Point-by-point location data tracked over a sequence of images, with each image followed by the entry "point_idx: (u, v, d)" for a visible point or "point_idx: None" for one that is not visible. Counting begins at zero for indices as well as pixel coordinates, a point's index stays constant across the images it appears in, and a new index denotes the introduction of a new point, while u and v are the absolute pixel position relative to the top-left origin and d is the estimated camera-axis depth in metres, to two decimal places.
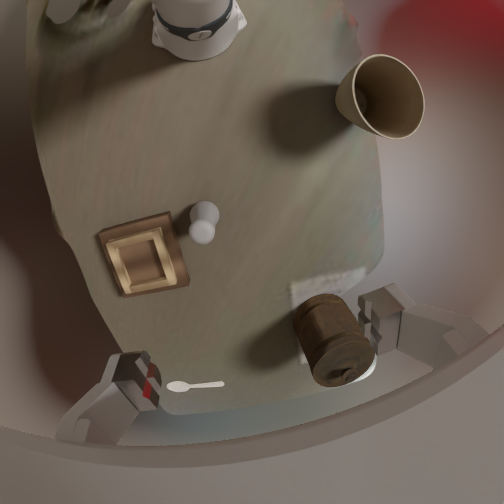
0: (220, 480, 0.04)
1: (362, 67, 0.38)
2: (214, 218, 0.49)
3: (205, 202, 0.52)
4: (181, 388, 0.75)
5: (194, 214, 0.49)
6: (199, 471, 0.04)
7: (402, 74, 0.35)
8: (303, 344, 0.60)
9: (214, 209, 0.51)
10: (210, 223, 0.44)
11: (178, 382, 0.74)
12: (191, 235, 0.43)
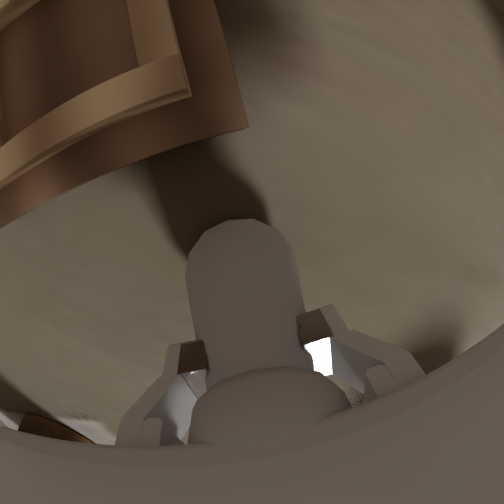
0: (220, 480, 0.04)
1: None
2: None
3: None
4: None
5: (287, 283, 0.10)
6: (199, 471, 0.04)
7: None
8: None
9: None
10: None
11: None
12: None
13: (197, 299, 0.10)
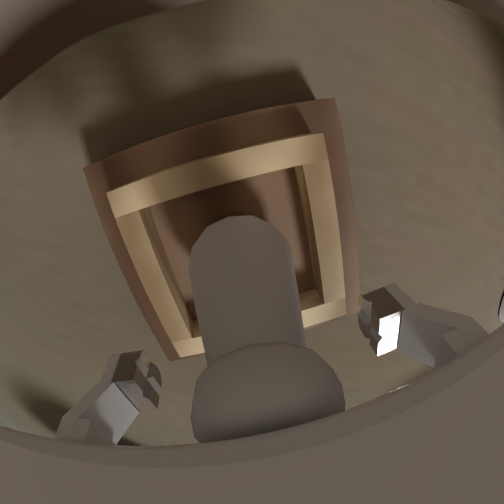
0: (220, 480, 0.04)
1: None
2: None
3: None
4: None
5: (283, 274, 0.11)
6: (199, 471, 0.04)
7: None
8: None
9: None
10: None
11: None
12: (263, 412, 0.05)
13: (200, 288, 0.11)
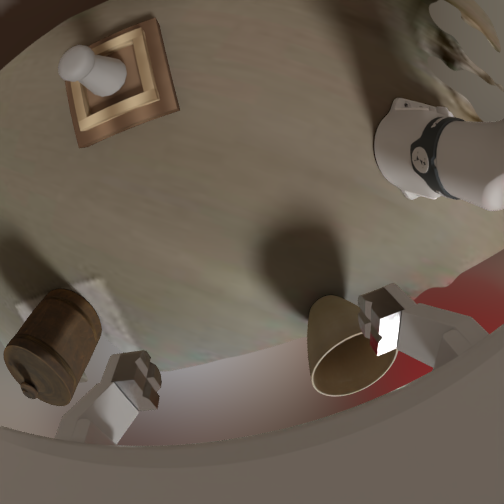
0: (220, 480, 0.04)
1: None
2: (98, 84, 0.24)
3: (124, 74, 0.27)
4: None
5: (105, 57, 0.23)
6: (199, 471, 0.04)
7: (374, 366, 0.42)
8: (37, 315, 0.35)
9: (112, 84, 0.26)
10: (84, 70, 0.19)
11: None
12: (70, 49, 0.17)
13: None
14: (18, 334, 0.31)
